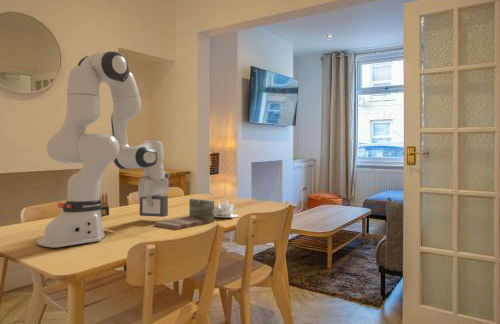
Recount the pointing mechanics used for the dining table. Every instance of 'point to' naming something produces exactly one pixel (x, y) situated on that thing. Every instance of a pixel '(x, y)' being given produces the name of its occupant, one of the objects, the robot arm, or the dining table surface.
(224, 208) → the lotus flower
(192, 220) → the bookend
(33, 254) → the dining table surface
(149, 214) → the picture frame
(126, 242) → the dining table surface
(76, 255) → the dining table surface
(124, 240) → the dining table surface
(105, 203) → the ammunition clip
